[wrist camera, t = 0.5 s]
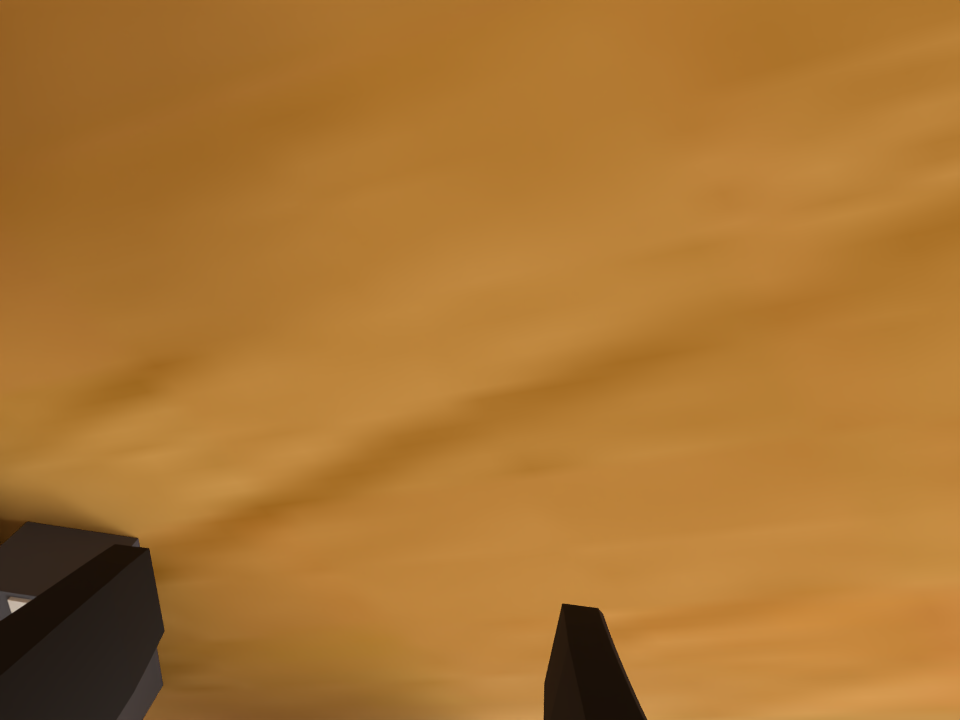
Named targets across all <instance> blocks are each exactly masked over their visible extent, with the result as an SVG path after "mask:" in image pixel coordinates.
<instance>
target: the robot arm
mask: <svg viewBox="0 0 960 720" xmlns="http://www.w3.org/2000/svg"><path fill="white" fill-rule="evenodd" d="M163 633H164V625H163V620H162V615H161V609H160V604H159V599H158V593H157V588H156V583H155V577H154V572H153V567H152V561H151V556H150V550H149V548H142V547H134V546H127V545H119V544H114V545H113V546H111V547H109V548H108V549H106V550H105V551H103V552H102V553H100V554H99V555H97V556H96V557H94V558H93V559H91V560H90V561H88V562H87V563H85V564H84V565H82V566H81V567H79V568H78V569H76V570H75V571H74V572H72V573H71V574H69V575H68V576H66V577H65V578H63V579H62V580H60V581H59V582H57V583H56V584H54V585H53V586H52V587H50V588H49V589H47V590H46V591H44V592H43V593H41V594H40V595H38V596H37V597H35V598H34V599H32V600H31V601H29V602H28V603H26V604H25V605H23V606H22V607H20V608H19V609H17V610H16V611H14V612H13V613H11V614H10V615H8V616H7V617H5V618H4V619H2V620H1V621H0V720H117V718H118V717H119V715H120V714H121V712H122V710H123V709H124V707H125V706H126V704H127V702H128V701H129V699H130V698H131V696H132V694H133V693H134V691H135V689H136V687H137V685H138V683H139V682H140V680H141V678H142V676H143V674H144V672H145V670H146V668H147V666H148V664H149V662H150V660H151V658H152V656H153V654H154V652H155V650H156V648H157V646H158V643H159V641H160V639H161V637H162V635H163ZM544 720H647V718H646V716H645V714H644V712H643V710H642V708H641V706H640V704H639V701H638V699H637V697H636V695H635V693H634V690H633V688H632V686H631V684H630V681H629V679H628V677H627V674H626V672H625V670H624V667H623V665H622V663H621V660H620V658H619V655H618V653H617V650H616V648H615V645H614V643H613V640H612V638H611V635H610V632H609V630H608V627H607V624H606V621H605V619H604V616H603V614H602V612H601V611H600V610H599V609H598V608H592V607H585V606H577V605H570V604H562V607H561V612H560V616H559V620H558V625H557V629H556V634H555V638H554V643H553V647H552V652H551V656H550V661H549V665H548V669H547V674H546V678H545V684H544Z"/></svg>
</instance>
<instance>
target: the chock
mask: <svg viewBox="0 0 960 720" xmlns="http://www.w3.org/2000/svg"><path fill="white" fill-rule="evenodd" d="M114 544H119V545H127V546H134V547H140V545H139V539H138V538H133V537H126V536H120V535H113V534H106V533H100V532H93V531H86V530H80V529H73V528H66V527H60V526H53V525H46V524H40V523H33V522H26V523H25V524H24V525H23V526H22V527H21V528H20V529H19V530H18V531H16V532H15V533H14V534H13V535H12V536H11V537H10V538H9V539H8V540H6V541H5V542H4V543H3V544H2V545H1V546H0V621H1V620H2V619H4V618H5V617H7V616H8V615H10V614H11V613H13V612H14V611H16V610H17V609H19V608H20V607H22V606H23V605H25V604H26V603H28V602H29V601H31V600H32V599H34V598H35V597H37V596H38V595H40V594H41V593H43V592H44V591H46V590H47V589H49V588H50V587H52V586H53V585H54V584H56V583H57V582H59V581H60V580H62V579H63V578H65V577H66V576H68V575H69V574H71V573H72V572H74V571H75V570H76V569H78V568H79V567H81V566H82V565H84V564H85V563H87V562H88V561H90V560H91V559H93V558H94V557H96V556H97V555H99V554H100V553H102V552H103V551H105V550H106V549H108V548H109V547H111V546H113V545H114ZM162 686H163V681H162V676H161V670H160V664H159V658H158V652H157V648H156V650H155V652H154V654H153V656H152V658H151V660H150V662H149V664H148V666H147V668H146V670H145V672H144V674H143V676H142V678H141V680H140V682H139V683H138V685H137V687H136V689H135V691H134V693H133V694H132V696H131V698H130V699H129V701H128V702H127V704H126V706H125V707H124V709H123V710H122V712H121V714H120V715H119V717H118V718H117V720H143V718H144V716H145V715H146V713H147V711H148V710H149V708H150V706H151V705H152V703H153V701H154V700H155V698H156V696H157V695H158V693H159V691H160V689H161V688H162Z"/></svg>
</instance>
